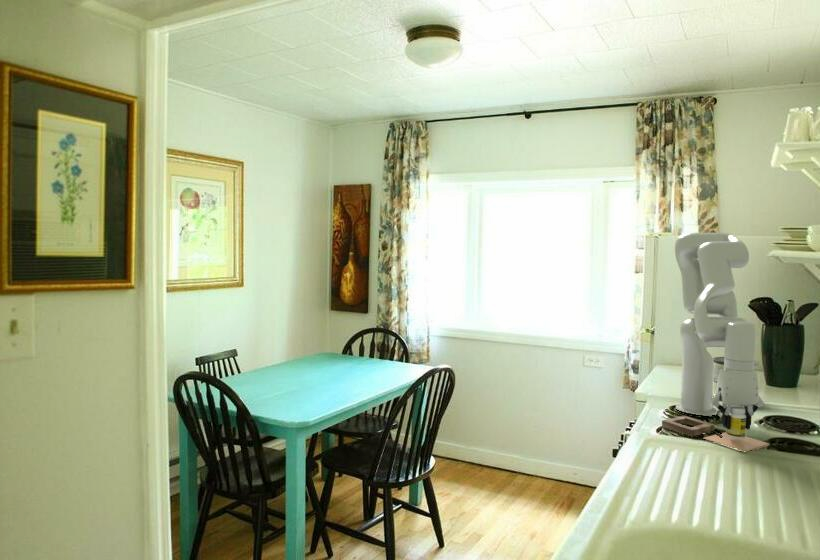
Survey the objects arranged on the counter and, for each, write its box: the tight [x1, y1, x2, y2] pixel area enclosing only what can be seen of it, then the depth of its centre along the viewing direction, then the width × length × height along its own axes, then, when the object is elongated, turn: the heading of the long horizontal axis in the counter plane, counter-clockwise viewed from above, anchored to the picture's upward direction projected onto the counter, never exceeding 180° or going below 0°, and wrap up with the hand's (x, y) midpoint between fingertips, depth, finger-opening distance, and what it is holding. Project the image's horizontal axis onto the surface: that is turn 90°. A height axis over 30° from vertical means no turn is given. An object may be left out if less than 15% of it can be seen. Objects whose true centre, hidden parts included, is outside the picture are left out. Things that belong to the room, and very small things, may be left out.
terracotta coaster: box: [702, 431, 770, 452], centre depth 171 cm, size 12×12×1 cm
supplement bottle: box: [726, 405, 747, 439], centre depth 171 cm, size 5×5×8 cm
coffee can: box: [712, 356, 724, 394], centre depth 218 cm, size 10×10×14 cm
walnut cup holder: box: [661, 415, 716, 438], centre depth 182 cm, size 10×10×2 cm
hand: (736, 427), depth 171 cm, fingers closed on supplement bottle, 4 cm apart
